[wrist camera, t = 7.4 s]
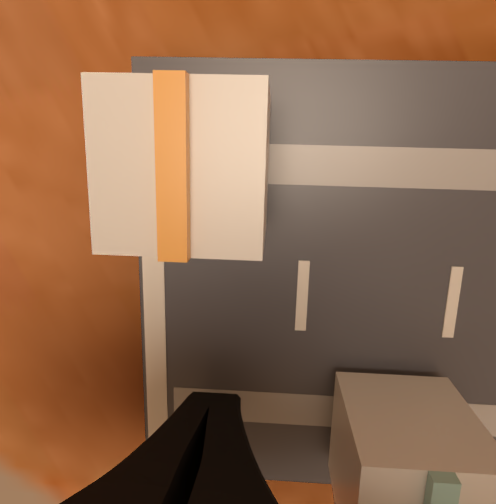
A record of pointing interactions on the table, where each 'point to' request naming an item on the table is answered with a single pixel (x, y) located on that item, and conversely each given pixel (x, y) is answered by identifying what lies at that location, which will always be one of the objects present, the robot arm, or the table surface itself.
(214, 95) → the fader
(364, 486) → the fader
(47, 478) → the table surface
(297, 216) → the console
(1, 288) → the table surface
